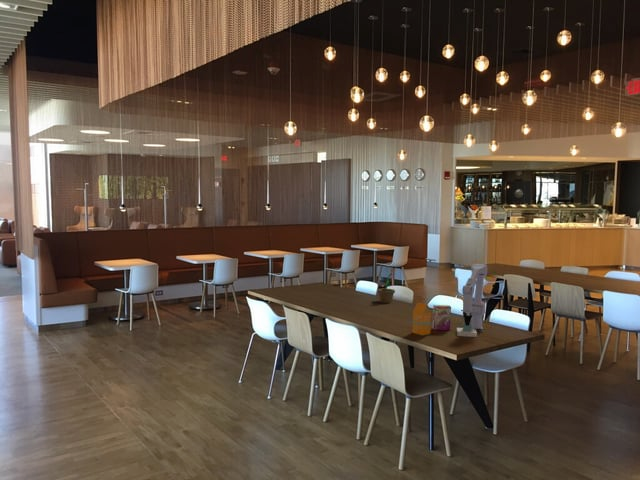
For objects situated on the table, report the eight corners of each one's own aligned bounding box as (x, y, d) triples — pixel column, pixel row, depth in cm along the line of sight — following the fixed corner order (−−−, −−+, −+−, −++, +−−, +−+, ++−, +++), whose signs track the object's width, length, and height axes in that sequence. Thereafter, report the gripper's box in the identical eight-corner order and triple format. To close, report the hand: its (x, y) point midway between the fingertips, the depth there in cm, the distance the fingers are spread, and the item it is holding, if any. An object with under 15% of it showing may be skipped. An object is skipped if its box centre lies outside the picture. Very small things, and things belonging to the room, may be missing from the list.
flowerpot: (394, 303, 439) (395, 268, 437) (377, 303, 441) (378, 267, 439) (394, 300, 453) (395, 266, 451) (377, 299, 455) (378, 265, 453)
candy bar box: (433, 330, 351) (434, 306, 350) (432, 328, 356) (432, 304, 354) (450, 330, 351) (451, 306, 350) (448, 328, 356) (449, 304, 355)
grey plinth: (456, 332, 350) (456, 327, 349) (475, 333, 347) (475, 328, 347) (457, 336, 338) (457, 332, 338) (476, 337, 335) (477, 333, 335)
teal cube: (462, 329, 345) (462, 321, 345) (470, 329, 344) (470, 322, 344) (463, 330, 340) (463, 323, 340) (471, 331, 339) (471, 323, 339)
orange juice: (422, 335, 337) (423, 305, 335) (412, 332, 344) (413, 302, 342) (430, 333, 341) (431, 303, 340) (420, 331, 348) (421, 301, 347)
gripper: (460, 301, 349) (460, 321, 350) (462, 305, 335) (461, 326, 336) (471, 301, 347) (470, 321, 348) (473, 306, 333) (472, 327, 334)
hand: (466, 324), depth 342 cm, fingers open, 7 cm apart
